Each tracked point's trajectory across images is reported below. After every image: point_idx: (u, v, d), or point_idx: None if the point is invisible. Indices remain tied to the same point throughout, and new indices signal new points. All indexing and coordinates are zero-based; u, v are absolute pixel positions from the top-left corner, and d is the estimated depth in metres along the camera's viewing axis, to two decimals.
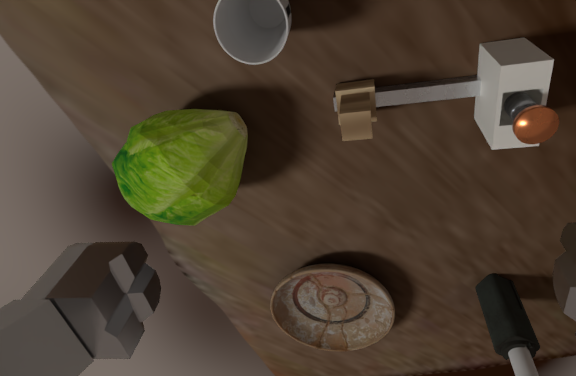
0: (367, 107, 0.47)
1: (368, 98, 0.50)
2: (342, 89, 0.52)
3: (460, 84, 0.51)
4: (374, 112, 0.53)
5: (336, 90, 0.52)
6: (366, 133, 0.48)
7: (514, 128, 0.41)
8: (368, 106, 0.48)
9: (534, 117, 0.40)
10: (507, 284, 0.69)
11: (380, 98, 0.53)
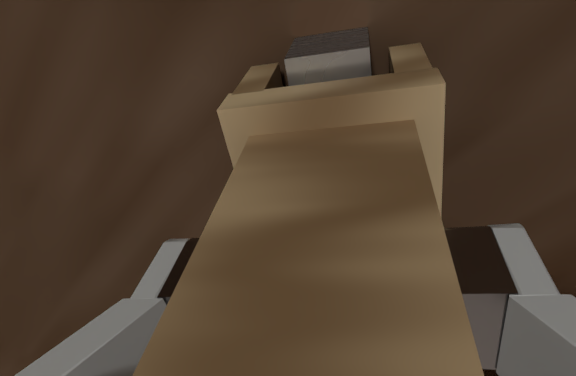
0: None
1: None
2: None
3: None
4: None
5: None
6: None
7: None
8: None
9: None
10: None
11: None
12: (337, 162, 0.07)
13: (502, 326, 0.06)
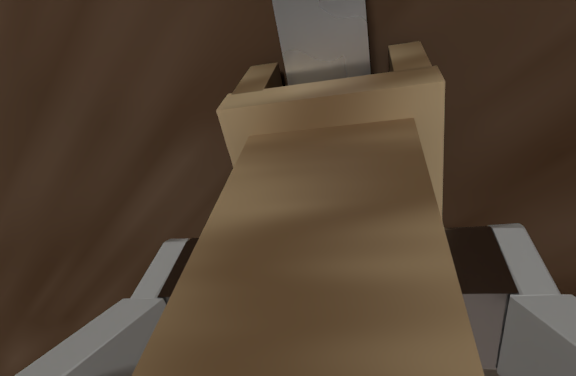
0: None
1: None
2: None
3: None
4: None
5: None
6: None
7: None
8: None
9: None
10: None
11: (333, 71, 0.10)
12: (337, 161, 0.07)
13: (503, 326, 0.06)
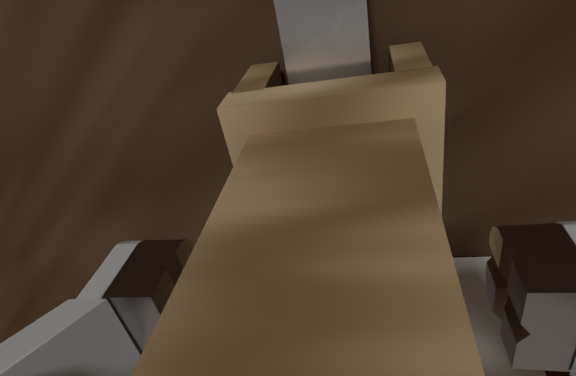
0: None
1: None
2: None
3: None
4: None
5: None
6: None
7: None
8: None
9: None
10: None
11: None
12: (337, 161, 0.07)
13: None
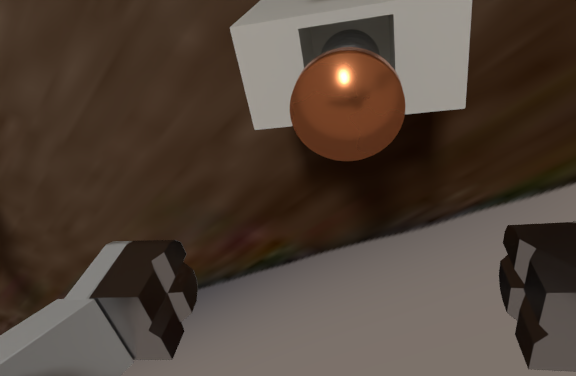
0: None
1: None
2: None
3: None
4: None
5: None
6: None
7: (338, 53, 0.13)
8: None
9: (376, 99, 0.14)
10: None
11: None
12: None
13: None
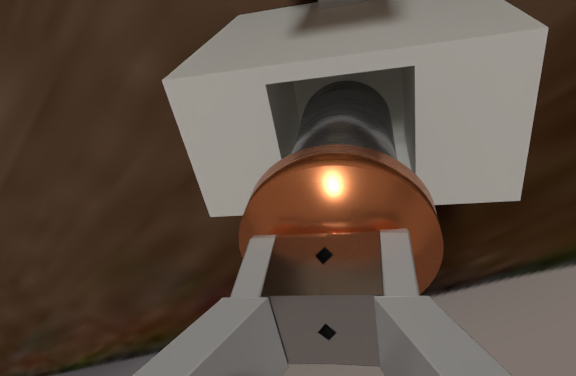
0: None
1: None
2: None
3: None
4: None
5: None
6: None
7: (320, 162, 0.07)
8: None
9: None
10: None
11: None
12: None
13: (377, 325, 0.06)
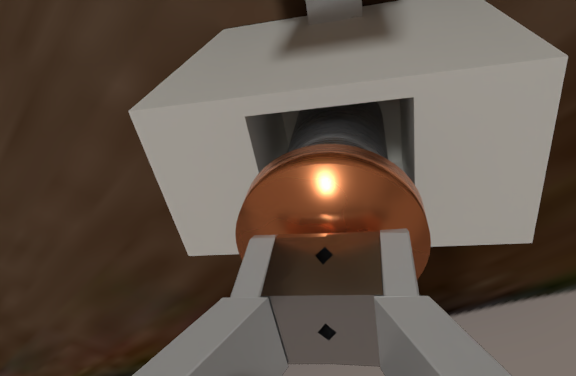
0: None
1: None
2: None
3: None
4: None
5: None
6: None
7: (313, 161, 0.07)
8: None
9: None
10: None
11: None
12: None
13: (376, 325, 0.06)
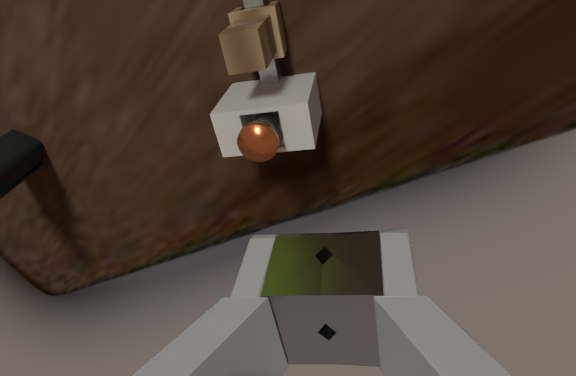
0: (267, 63, 0.37)
1: (273, 56, 0.40)
2: (277, 15, 0.40)
3: (273, 61, 0.44)
4: None
5: (275, 7, 0.39)
6: (234, 67, 0.37)
7: (252, 124, 0.38)
8: (268, 62, 0.37)
9: (267, 139, 0.38)
10: (35, 162, 0.57)
11: None
12: (251, 20, 0.39)
13: (377, 325, 0.06)
